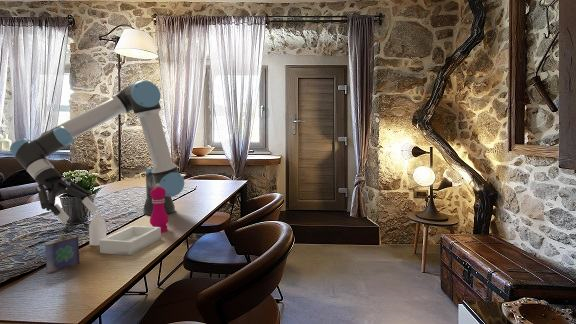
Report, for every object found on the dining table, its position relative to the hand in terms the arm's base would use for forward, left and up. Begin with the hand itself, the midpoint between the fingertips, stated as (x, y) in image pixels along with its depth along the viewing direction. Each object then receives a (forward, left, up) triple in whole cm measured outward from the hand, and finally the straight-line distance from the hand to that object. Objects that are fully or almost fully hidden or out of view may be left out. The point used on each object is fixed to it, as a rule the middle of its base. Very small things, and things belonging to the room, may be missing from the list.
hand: (81, 215), depth 125 cm
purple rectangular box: (+21, +11, -11) cm, 26 cm away
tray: (-1, +19, -10) cm, 22 cm away
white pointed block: (-1, +5, -11) cm, 12 cm away
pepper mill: (-19, +19, -11) cm, 29 cm away
